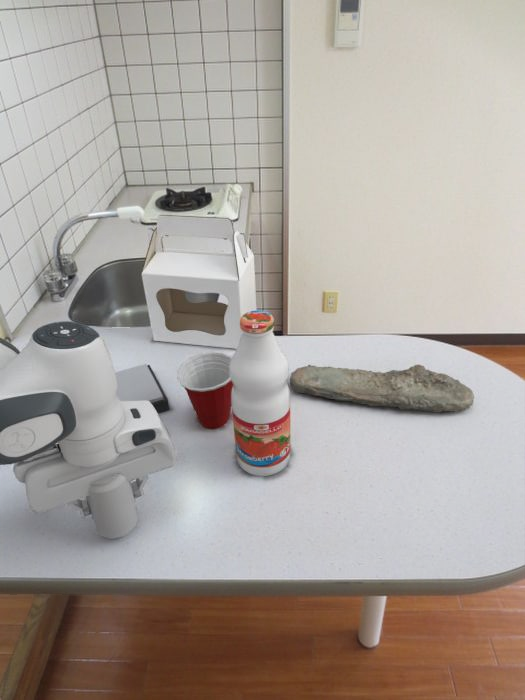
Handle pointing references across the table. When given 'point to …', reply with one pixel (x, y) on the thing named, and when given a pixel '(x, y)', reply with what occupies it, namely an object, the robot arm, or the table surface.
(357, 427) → the table surface
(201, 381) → the plastic cup
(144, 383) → the kitchen scale
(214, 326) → the gable box
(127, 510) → the beverage can
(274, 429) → the fruit juice
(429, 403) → the long grey stone
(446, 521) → the table surface
